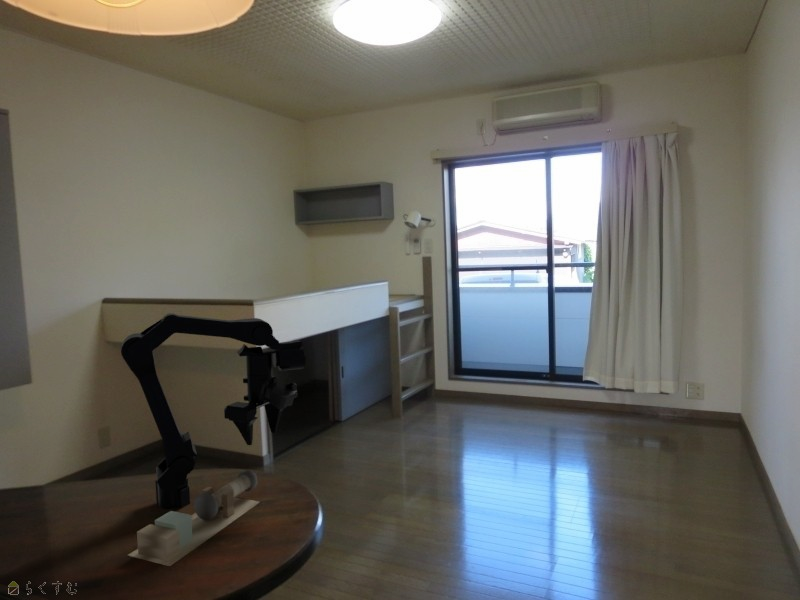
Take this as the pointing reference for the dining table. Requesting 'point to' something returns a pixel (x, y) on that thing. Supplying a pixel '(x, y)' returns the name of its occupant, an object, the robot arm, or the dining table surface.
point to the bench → (166, 543)
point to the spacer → (177, 525)
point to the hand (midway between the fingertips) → (261, 438)
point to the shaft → (210, 503)
